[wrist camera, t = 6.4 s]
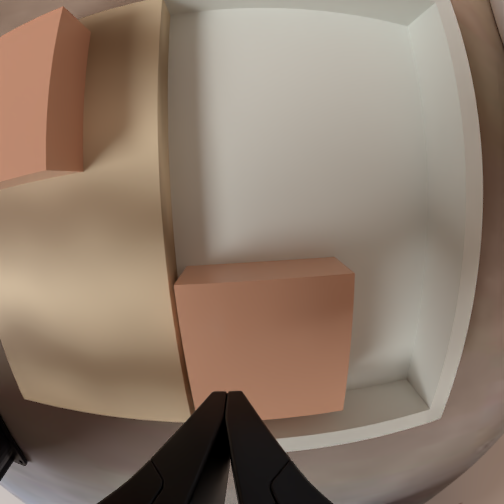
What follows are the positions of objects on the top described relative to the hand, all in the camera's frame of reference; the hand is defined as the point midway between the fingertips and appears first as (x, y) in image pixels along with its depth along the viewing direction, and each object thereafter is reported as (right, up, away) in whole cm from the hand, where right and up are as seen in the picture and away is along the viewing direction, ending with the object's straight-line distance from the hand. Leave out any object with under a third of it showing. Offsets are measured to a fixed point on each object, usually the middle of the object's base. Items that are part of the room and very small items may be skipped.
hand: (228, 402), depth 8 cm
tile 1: (+1, +1, +5) cm, 5 cm away
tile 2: (-9, +10, +1) cm, 13 cm away
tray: (+3, +6, +4) cm, 8 cm away
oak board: (-7, +6, +4) cm, 10 cm away
